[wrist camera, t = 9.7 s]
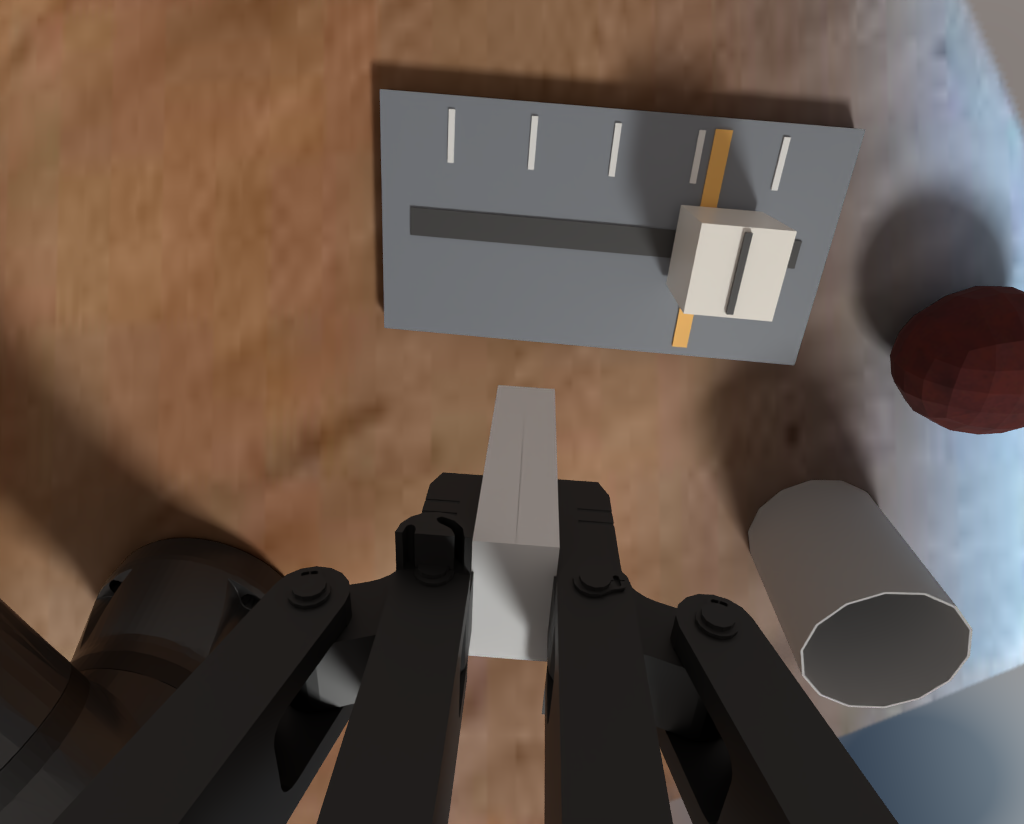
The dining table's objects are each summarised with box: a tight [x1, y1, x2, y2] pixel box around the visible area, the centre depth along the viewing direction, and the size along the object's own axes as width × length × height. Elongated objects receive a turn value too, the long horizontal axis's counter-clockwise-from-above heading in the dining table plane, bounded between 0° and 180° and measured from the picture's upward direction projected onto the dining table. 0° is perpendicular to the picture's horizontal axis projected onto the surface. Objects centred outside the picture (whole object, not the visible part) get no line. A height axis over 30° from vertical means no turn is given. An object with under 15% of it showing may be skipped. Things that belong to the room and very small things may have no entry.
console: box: [380, 89, 865, 365], centre depth 33 cm, size 23×12×1 cm, turn 86°
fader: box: [666, 205, 797, 322], centre depth 30 cm, size 4×4×5 cm
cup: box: [748, 480, 972, 708], centre depth 37 cm, size 8×8×10 cm
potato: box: [890, 286, 1024, 434], centre depth 32 cm, size 7×8×7 cm
